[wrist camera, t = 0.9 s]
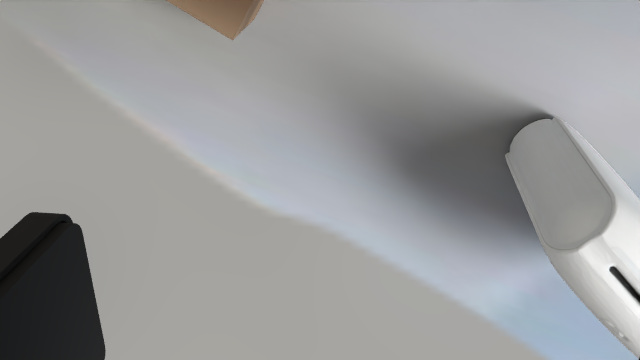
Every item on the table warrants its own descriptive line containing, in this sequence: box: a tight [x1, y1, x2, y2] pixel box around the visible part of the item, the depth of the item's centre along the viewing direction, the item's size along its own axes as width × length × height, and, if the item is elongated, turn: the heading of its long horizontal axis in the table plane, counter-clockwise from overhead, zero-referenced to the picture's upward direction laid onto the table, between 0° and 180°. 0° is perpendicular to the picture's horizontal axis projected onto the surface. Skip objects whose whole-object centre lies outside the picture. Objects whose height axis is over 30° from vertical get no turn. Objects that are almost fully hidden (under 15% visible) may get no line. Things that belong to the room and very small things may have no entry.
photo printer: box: [505, 116, 640, 358], centre depth 29 cm, size 10×4×12 cm, turn 45°
